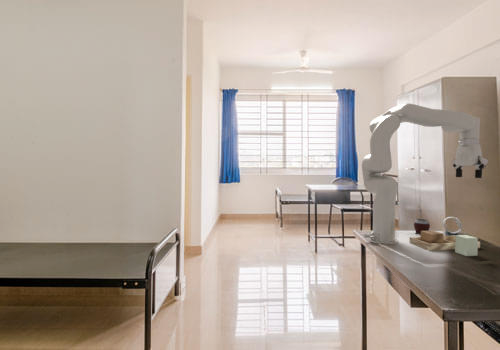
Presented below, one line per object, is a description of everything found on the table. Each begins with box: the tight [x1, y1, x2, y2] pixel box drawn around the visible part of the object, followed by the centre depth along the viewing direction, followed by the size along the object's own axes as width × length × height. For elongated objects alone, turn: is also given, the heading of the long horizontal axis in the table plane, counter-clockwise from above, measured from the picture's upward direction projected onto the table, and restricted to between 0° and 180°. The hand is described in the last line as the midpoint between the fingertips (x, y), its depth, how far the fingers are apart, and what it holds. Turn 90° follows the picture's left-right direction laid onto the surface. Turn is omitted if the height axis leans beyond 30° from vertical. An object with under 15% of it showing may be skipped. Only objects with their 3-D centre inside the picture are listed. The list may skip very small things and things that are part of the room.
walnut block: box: [420, 230, 445, 244], centre depth 123 cm, size 6×6×6 cm
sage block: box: [454, 234, 479, 257], centre depth 112 cm, size 5×5×8 cm
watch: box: [442, 216, 464, 236], centre depth 138 cm, size 6×8×11 cm
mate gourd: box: [413, 204, 431, 235], centre depth 146 cm, size 8×8×15 cm
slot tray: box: [409, 235, 481, 251], centre depth 124 cm, size 24×12×4 cm, turn 98°
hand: (468, 177), depth 137 cm, fingers open, 9 cm apart
